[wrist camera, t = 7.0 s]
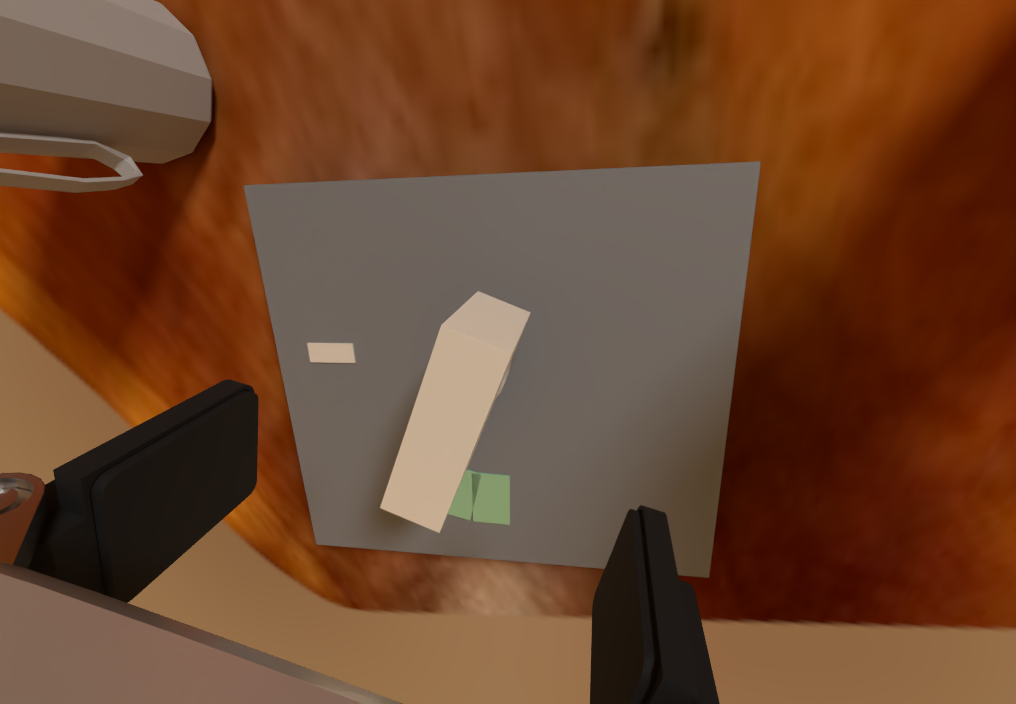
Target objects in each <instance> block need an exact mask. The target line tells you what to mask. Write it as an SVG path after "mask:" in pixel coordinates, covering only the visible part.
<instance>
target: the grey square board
mask: <svg viewBox="0 0 1016 704" xmlns="http://www.w3.org/2000/svg"><path fill="white" fill-rule="evenodd" d="M760 164H761V162H742V163H720V164H698V165H676V166H654V167H633V168H611V169H589V170H567V171H546V172H524V173H502V174H480V175H458V176H437V177H415V178H393V179H371V180H349V181H328V182H306V183H284V184H262V185H244V190H245V195H246V199H247V204H248V209H249V214H250V219H251V224H252V229H253V234H254V239H255V244H256V249H257V254H258V259H259V264H260V269H261V274H262V279H263V284H264V289H265V293H266V298H267V303H268V308H269V313H270V318H271V323H272V328H273V333H274V338H275V343H276V348H277V353H278V358H279V363H280V368H281V373H282V378H283V383H284V387H285V392H286V397H287V402H288V407H289V412H290V417H291V422H292V427H293V432H294V437H295V442H296V447H297V452H298V457H299V462H300V467H301V472H302V477H303V481H304V486H305V491H306V496H307V501H308V506H309V511H310V516H311V521H312V526H313V531H314V536H315V541H316V544H318V545H329V546H341V547H353V548H365V549H376V550H388V551H400V552H412V553H424V554H435V555H447V556H459V557H471V558H482V559H494V560H506V561H518V562H529V563H541V564H553V565H565V566H576V567H588V568H600V569H605V567H606V565H607V562H608V560H609V557H610V555H611V552H612V550H613V547H614V545H615V542H616V540H617V537H618V535H619V532H620V530H621V527H622V525H623V522H624V520H625V517H626V515H627V513H628V511H629V509H634V510H637V509H638V507H639V506H640V505H643V506H646V507H649V508H652V509H656V510H659V511H662V512H665V513H666V515H667V520H668V525H669V530H670V535H671V541H672V546H673V551H674V557H675V562H676V567H677V573H678V575H682V576H694V577H706V578H709V574H710V566H711V558H712V550H713V542H714V534H715V526H716V518H717V510H718V502H719V494H720V486H721V477H722V469H723V461H724V453H725V445H726V437H727V429H728V421H729V413H730V405H731V397H732V389H733V381H734V373H735V365H736V357H737V349H738V341H739V333H740V325H741V317H742V309H743V301H744V293H745V285H746V277H747V269H748V261H749V253H750V245H751V236H752V228H753V220H754V212H755V204H756V196H757V188H758V180H759V172H760ZM478 291H479V292H482V293H484V294H487V295H489V296H491V297H494V298H496V299H499V300H501V301H504V302H506V303H509V304H511V305H514V306H516V307H518V308H521V309H523V310H526V311H528V312H531V313H530V315H529V318H528V320H527V323H526V325H525V328H524V330H523V333H522V335H521V338H520V340H519V342H518V345H517V347H516V350H515V352H514V361H513V364H512V367H511V369H510V372H509V374H508V376H507V379H506V381H505V384H504V386H503V388H502V391H501V393H500V394H499V395H498V397H497V398H496V399H495V401H494V404H493V406H492V409H491V411H490V414H489V416H488V419H487V421H486V424H485V426H484V429H483V431H482V433H481V436H480V438H479V441H478V443H477V446H476V448H475V451H474V453H473V456H472V458H471V460H470V463H469V465H468V467H467V470H466V472H465V474H464V477H463V479H462V481H461V484H460V486H459V488H458V491H457V493H456V495H455V498H454V500H453V502H452V505H451V507H450V510H449V512H448V514H447V517H446V519H445V521H444V524H443V526H442V528H441V531H440V533H438V532H436V531H433V530H431V529H429V528H426V527H424V526H421V525H419V524H417V523H414V522H412V521H410V520H407V519H405V518H402V517H400V516H398V515H395V514H393V513H391V512H388V511H386V510H383V509H381V508H380V506H381V503H382V500H383V497H384V494H385V491H386V488H387V485H388V482H389V479H390V476H391V473H392V470H393V467H394V464H395V461H396V458H397V455H398V452H399V449H400V446H401V443H402V440H403V437H404V435H405V432H406V429H407V426H408V423H409V420H410V417H411V414H412V411H413V408H414V405H415V402H416V399H417V396H418V393H419V390H420V387H421V384H422V381H423V378H424V375H425V372H426V369H427V366H428V363H429V360H430V357H431V354H432V351H433V348H434V345H435V342H436V339H437V336H438V333H439V330H440V327H441V325H442V324H443V323H444V322H445V321H446V320H447V319H448V318H449V317H451V316H452V315H453V314H454V313H455V312H456V311H457V310H458V309H459V308H460V307H461V306H462V305H464V304H465V303H466V302H467V301H468V300H469V299H470V298H471V297H472V296H473V295H474V294H475V293H477V292H478Z"/></svg>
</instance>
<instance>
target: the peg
mask: <svg viewBox="0 0 1016 704" xmlns="http://www.w3.org/2000/svg"><path fill="white" fill-rule="evenodd" d="M530 313H531V312H528V311H526V310H523V309H521V308H518V307H516V306H514V305H511V304H509V303H506V302H504V301H501V300H499V299H496V298H494V297H491V296H489V295H487V294H484V293H482V292H479V291H478V292H477V293H475V294H474V295H473V296H472V297H471V298H470V299H469V300H468V301H467V302H466V303H465V304H464V305H462V306H461V307H460V308H459V309H458V310H457V311H456V312H455V313H454V314H453V315H452V316H451V317H449V318H448V319H447V320H446V321H445V322H444V323H443V324H442V325H441V327H440V330H439V333H438V336H437V339H436V342H435V345H434V348H433V351H432V354H431V357H430V360H429V363H428V366H427V369H426V372H425V375H424V378H423V381H422V384H421V387H420V390H419V393H418V396H417V399H416V402H415V405H414V408H413V411H412V414H411V417H410V420H409V423H408V426H407V429H406V432H405V435H404V437H403V440H402V443H401V446H400V449H399V452H398V455H397V458H396V461H395V464H394V467H393V470H392V473H391V476H390V479H389V482H388V485H387V488H386V491H385V494H384V497H383V500H382V503H381V506H380V508H381V509H383V510H386V511H388V512H391V513H393V514H395V515H398V516H400V517H402V518H405V519H407V520H410V521H412V522H414V523H417V524H419V525H421V526H424V527H426V528H429V529H431V530H433V531H436V532H438V533H440V531H441V528H442V526H443V524H444V521H445V519H446V517H447V514H448V512H449V510H450V507H451V505H452V502H453V500H454V498H455V495H456V493H457V491H458V488H459V486H460V484H461V481H462V479H463V477H464V474H465V472H466V470H467V467H468V465H469V463H470V460H471V458H472V456H473V453H474V451H475V448H476V446H477V443H478V441H479V438H480V436H481V433H482V431H483V429H484V426H485V424H486V421H487V419H488V416H489V414H490V411H491V409H492V406H493V404H494V401H495V399H496V398H497V397H498V395H499V394H500V393H501V391H502V388H503V386H504V384H505V381H506V379H507V376H508V374H509V372H510V369H511V367H512V364H513V361H514V352H515V350H516V347H517V345H518V342H519V340H520V338H521V335H522V333H523V330H524V328H525V325H526V323H527V320H528V318H529V315H530Z"/></svg>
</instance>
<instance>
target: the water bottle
mask: <svg viewBox="0 0 1016 704" xmlns="http://www.w3.org/2000/svg"><path fill="white" fill-rule="evenodd" d="M212 86H213V81H212V79H211V76H210V74H209V71H208V69H207V67H206V64H205V62H204V59H203V57H202V54H201V52H200V49H199V47H198V44H197V42H196V40H195V38H194V36H193V35H192V34H191V33H190V32H189V31H188V30H187V29H186V28H185V27H184V26H183V25H182V24H181V23H180V22H179V21H178V20H177V19H176V18H175V17H174V16H173V15H172V14H171V13H170V12H169V11H168V10H167V9H166V8H165V7H164V6H163V5H162V4H161V3H159V2H156V1H154V0H0V153H15V154H29V155H44V156H58V157H73V158H87V159H95V160H97V161H99V162H101V163H103V164H105V165H107V166H108V167H110V168H112V169H114V170H115V171H116V172H118V173H119V174H120V175H121V176H122V177H104V178H77V177H68V176H60V175H51V174H43V173H34V172H26V171H17V170H9V169H0V185H1V186H11V187H22V188H32V189H42V190H53V191H63V192H73V193H79V192H93V191H107V190H115V189H118V188H122V187H126V186H129V185H132V184H134V183H135V182H136V181H137V180H138V179H139V178H140V177H142V176H143V175H142V173H141V172H140V170H139V169H138V167H137V166H136V164H135V163H134V162H145V163H159V164H163V163H166V162H169V161H171V160H174V159H177V158H179V157H182V156H185V155H187V154H190V153H192V152H193V151H194V149H195V147H196V146H197V144H198V142H199V141H200V139H201V137H202V136H203V134H204V132H205V131H206V129H207V127H208V126H209V124H210V122H211V120H212Z"/></svg>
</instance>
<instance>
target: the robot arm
mask: <svg viewBox="0 0 1016 704" xmlns="http://www.w3.org/2000/svg"><path fill="white" fill-rule="evenodd" d="M257 445H258V396H257V394H255V393H254V390H253V388H252V387H251V386H249V385H246V384H243V383H240V382H236V381H233V380H224V381H222V382H220V383H218V384H216V385H214V386H212V387H210V388H208V389H206V390H205V391H203V392H201V393H199V394H197V395H195V396H193V397H191V398H189V399H187V400H185V401H184V402H182V403H180V404H178V405H176V406H174V407H172V408H170V409H168V410H166V411H165V412H163V413H161V414H159V415H157V416H155V417H153V418H151V419H149V420H147V421H145V422H144V423H142V424H140V425H138V426H136V427H134V428H132V429H130V430H128V431H126V432H125V433H123V434H121V435H119V436H117V437H115V438H113V439H111V440H109V441H108V442H105V443H104V444H102V445H100V446H98V447H96V448H94V449H92V450H90V451H88V452H86V453H85V454H83V455H81V456H79V457H77V458H75V459H73V460H71V461H69V462H67V463H65V464H64V465H62V466H60V467H58V468H56V469H54V470H53V471H54V477H55V480H53V481H51V482H50V483H48V484H46V485H45V484H44V482H43V481H42V480H41V479H40V478H38V477H36V476H34V475H32V474H25V473H1V474H0V704H402V703H399V702H397V701H394V700H391V699H389V698H386V697H383V696H381V695H378V694H375V693H372V692H370V691H367V690H365V689H362V688H359V687H357V686H354V685H351V684H348V683H346V682H343V681H340V680H337V679H335V678H332V677H329V676H327V675H324V674H321V673H319V672H316V671H313V670H310V669H307V668H305V667H302V666H299V665H297V664H294V663H291V662H288V661H286V660H283V659H280V658H278V657H275V656H272V655H269V654H267V653H264V652H261V651H258V650H256V649H253V648H250V647H247V646H245V645H242V644H239V643H236V642H234V641H231V640H228V639H225V638H223V637H220V636H217V635H214V634H212V633H209V632H206V631H203V630H201V629H198V628H195V627H192V626H190V625H187V624H184V623H181V622H178V621H176V620H173V619H170V618H167V617H164V616H161V615H159V614H156V613H153V612H150V611H148V610H145V609H142V608H139V607H136V606H134V605H131V604H128V603H127V602H129V601H130V600H132V599H133V598H134V597H135V596H136V595H138V594H139V593H140V592H141V591H142V590H143V589H144V588H145V587H147V586H148V585H149V584H150V583H151V582H152V581H153V580H154V579H156V578H157V577H158V576H159V575H160V574H161V573H162V572H163V571H165V570H166V569H167V568H168V567H169V566H170V565H171V564H173V563H174V561H176V560H177V559H178V558H179V557H180V556H182V554H183V553H185V552H186V551H187V550H188V549H189V548H190V547H192V545H194V544H195V543H196V542H197V541H198V540H200V539H201V538H202V537H203V536H204V535H205V534H206V533H207V532H209V531H210V530H211V529H212V528H213V527H214V526H215V525H216V524H217V523H219V522H220V521H221V520H222V519H223V518H224V517H225V516H227V515H228V514H229V513H230V512H231V511H232V510H233V509H234V508H236V507H237V506H238V505H239V504H240V503H241V502H242V501H244V500H245V499H246V498H247V497H248V496H249V495H250V494H251V493H252V491H253V490H254V488H255V485H256V482H257ZM590 704H719V699H718V695H717V691H716V686H715V681H714V678H713V673H712V668H711V663H710V659H709V654H708V650H707V645H706V641H705V636H704V632H703V627H702V623H701V618H700V614H699V609H698V604H697V600H696V595H695V592H694V589H693V587H692V585H691V584H690V583H687V582H684V581H681V580H679V578H678V573H677V567H676V562H675V557H674V551H673V546H672V541H671V535H670V530H669V525H668V520H667V515H666V513H665V512H662V511H659V510H656V509H652V508H649V507H646V506H643V505H640V506H639V507H638V509H637V510H634V509H629V511H628V513H627V515H626V517H625V520H624V522H623V525H622V527H621V530H620V532H619V535H618V537H617V540H616V542H615V545H614V547H613V550H612V552H611V555H610V557H609V560H608V562H607V565H606V567H605V570H604V572H603V575H602V577H601V580H600V582H599V585H598V587H597V590H596V593H595V596H594V601H593V609H592V646H591V685H590Z"/></svg>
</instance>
